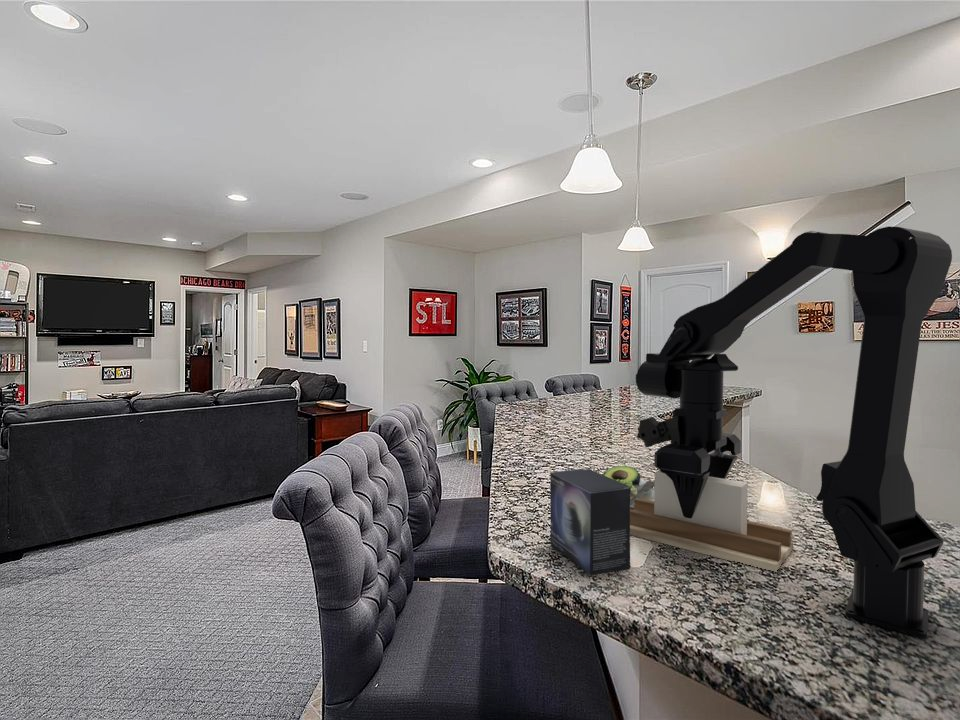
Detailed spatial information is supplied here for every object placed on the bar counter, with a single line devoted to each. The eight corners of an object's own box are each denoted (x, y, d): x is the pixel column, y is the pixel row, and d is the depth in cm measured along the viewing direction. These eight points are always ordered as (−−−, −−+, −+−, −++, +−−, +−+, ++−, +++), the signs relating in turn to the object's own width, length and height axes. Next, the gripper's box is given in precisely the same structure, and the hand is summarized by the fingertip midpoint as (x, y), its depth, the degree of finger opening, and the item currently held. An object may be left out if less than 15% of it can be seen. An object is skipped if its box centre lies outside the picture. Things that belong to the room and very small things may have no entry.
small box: (546, 545, 73) (547, 470, 73) (586, 539, 75) (587, 467, 75) (587, 576, 63) (588, 490, 63) (632, 568, 66) (633, 485, 65)
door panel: (740, 546, 70) (741, 487, 70) (653, 525, 78) (654, 472, 78) (746, 539, 73) (747, 482, 72) (661, 520, 80) (662, 468, 80)
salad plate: (680, 518, 85) (681, 490, 85) (570, 516, 87) (570, 488, 86) (650, 486, 105) (650, 463, 105) (560, 484, 106) (560, 461, 106)
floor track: (776, 572, 64) (776, 548, 64) (612, 530, 79) (612, 510, 79) (793, 549, 72) (793, 527, 72) (640, 514, 86) (641, 496, 86)
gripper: (670, 393, 87) (669, 486, 88) (618, 402, 73) (617, 513, 74) (742, 398, 80) (740, 499, 80) (700, 409, 66) (698, 532, 66)
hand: (699, 509), depth 75 cm, fingers open, 9 cm apart
